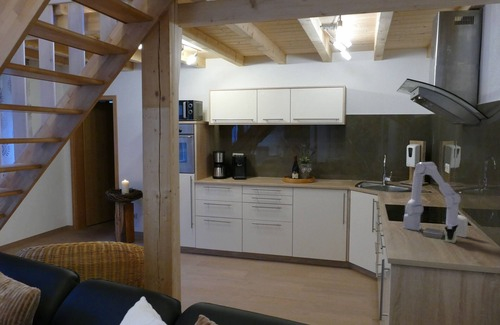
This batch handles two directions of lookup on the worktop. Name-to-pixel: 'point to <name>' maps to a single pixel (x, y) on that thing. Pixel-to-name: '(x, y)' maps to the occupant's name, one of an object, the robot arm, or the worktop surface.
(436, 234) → the grey block
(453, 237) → the green cube
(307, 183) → the worktop surface
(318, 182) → the worktop surface
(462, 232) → the photo printer
